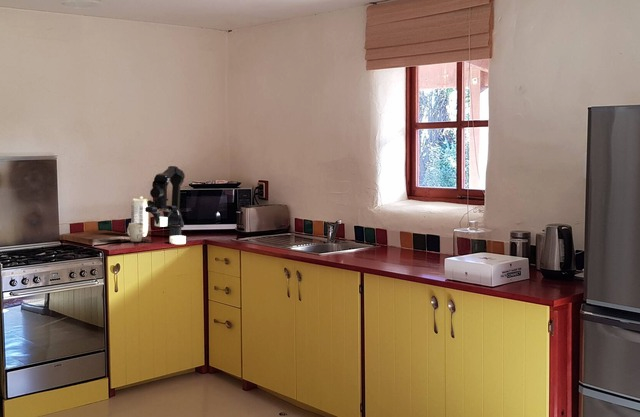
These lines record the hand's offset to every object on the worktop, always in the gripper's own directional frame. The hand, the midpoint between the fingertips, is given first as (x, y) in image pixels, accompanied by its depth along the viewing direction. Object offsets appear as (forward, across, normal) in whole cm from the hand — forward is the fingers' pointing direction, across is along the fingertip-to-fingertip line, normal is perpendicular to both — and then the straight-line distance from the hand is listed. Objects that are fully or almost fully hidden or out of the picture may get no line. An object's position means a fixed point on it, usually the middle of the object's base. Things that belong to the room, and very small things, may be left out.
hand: (161, 224), depth 425 cm
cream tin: (+11, -8, +6) cm, 15 cm away
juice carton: (+11, -6, -27) cm, 30 cm away
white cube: (+1, 0, 0) cm, 1 cm away
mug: (+11, +6, -16) cm, 21 cm away
